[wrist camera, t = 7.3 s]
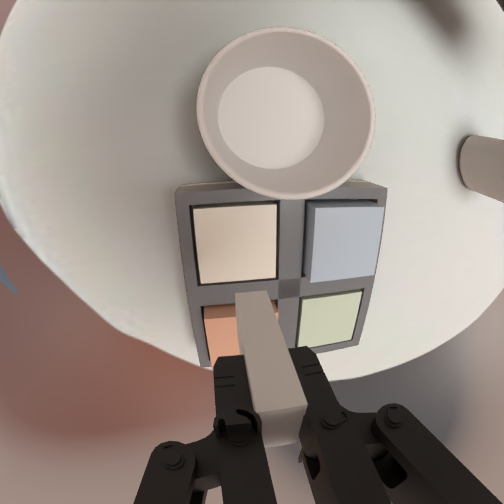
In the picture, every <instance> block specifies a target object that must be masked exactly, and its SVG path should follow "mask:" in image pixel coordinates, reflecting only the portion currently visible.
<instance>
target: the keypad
mask: <svg viewBox="0 0 504 504" xmlns="http://www.w3.org/2000/svg"><path fill="white" fill-rule="evenodd" d="M386 198H387V188H385V187H382V186H379V185H376V184H373V183H370V182H368V181H365V180H346V181H345V182H344V183H343V184H341V185H340V186H338V187H337V188H335V189H333V190H331V191H329V192H327V193H325V194H322V195H319V196H316V197H312V198H307V199H299V200H285V199H276V198H271V197H267V196H264V195H261V194H258V193H256V192H253V191H251V190H249V189H247V188H245V187H243V186H242V185H240V184H239V183H237V182H236V181H225V182H209V183H196V184H184V185H180V187H179V188H178V189H177V191H176V192H175V204H176V214H177V223H178V232H179V241H180V249H181V256H182V264H183V271H184V278H185V284H186V291H187V297H188V303H189V309H190V315H191V321H192V326H193V331H194V337H195V342H196V347H197V352H198V357H199V361H200V366H201V367H212V365H211V360H210V354H209V348H208V342H207V335H206V329H205V322H204V306H207V305H221V304H233V303H235V293H241V292H253V291H265V290H267V293H268V295H269V298H270V300H274V302H275V305H276V307H277V310H278V323H279V326H280V329H281V331H282V334H283V337H284V340H285V342H286V345H287V348H295V347H296V344H295V339H296V329H297V319H298V307H299V297H302V296H310V295H318V294H326V293H333V292H340V291H348V290H354V289H360V290H361V291H362V295H361V299H360V304H359V309H358V313H357V317H356V322H355V326H354V330H353V334H352V338H351V340H346V341H341V342H336V343H331V344H326V345H321V346H315V347H309V348H310V349H311V350H312V351H313V352H314V353H315V354H317V353H322V352H328V351H333V350H337V349H342V348H347V347H351V346H356V345H358V344H359V340H360V337H361V333H362V330H363V326H364V322H365V318H366V314H367V310H368V306H369V302H370V297H371V293H372V288H373V283H374V278H375V273H376V268H377V263H378V257H379V251H380V245H381V239H382V232H383V224H384V217H385V208H386ZM267 200H273V201H274V202H275V203H276V204H277V215H276V278H266V279H254V280H242V281H230V282H217V283H204V284H201V281H200V273H199V264H198V255H197V245H196V235H195V225H194V213H193V208H194V205H200V204H213V203H229V202H246V201H267ZM305 200H370V201H372V202H374V203H377V204H379V205H381V206H383V207H384V214H383V222H382V230H381V237H380V243H379V250H378V256H377V261H376V267H375V272H374V275H370V276H363V277H355V278H347V279H339V280H331V281H322V282H314V283H310V282H309V280H308V279H307V277H306V276H305V274H304V273H303V271H302V270H301V268H302V252H303V233H304V210H305Z"/></svg>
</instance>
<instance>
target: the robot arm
mask: <svg viewBox="0 0 504 504" xmlns="http://www.w3.org/2000/svg"><path fill="white" fill-rule="evenodd" d="M496 1H497V2H498V4H499V5H500V7H501V8H502V10H503V12H504V0H496ZM235 304H236V321H237V337H238V344H239V350H240V355H233V356H221V357H218V358H217V360H216V362H215V364H214V366H213V371H214V387H215V388H214V390H215V405H216V417H215V418H214V424H213V427H214V430H213V431H212V433H211V434H210V435H208V436H207V437H206V438H203V439H201V440H199V441H196V442H192V443H189V444H183V443H180V442H177V441H168V442H164V443H161V444H160V445H158V446H157V447H155V449H154V450H153V452H152V453H151V456H150V459H149V461H148V464H147V467H146V470H145V473H144V475H143V478H142V481H141V484H140V487H139V489H138V492H137V495H136V498H135V501H134V504H205V500H206V495H207V491H208V490H209V489H212V488H215V487H218V486H221V488H222V496H223V504H277V501H276V497H275V493H274V488H273V484H272V480H271V475H270V471H269V466H268V462H267V457H266V453H265V448H269V447H275V446H281V445H287V444H292V443H297V442H298V439H299V438H300V442H301V445H302V449H301V452H300V455H299V458H298V459H299V463H300V462H302V460H303V464H304V467H305V470H306V474H307V477H308V480H309V484H310V487H311V490H312V493H313V496H314V500H315V503H316V504H391V502H392V503H393V504H502V503H501V502H500V501H499V500H498V499H497V498H496V497H495V496H494V495H493V494H492V493H491V492H490V491H489V490H488V489H487V488H486V487H485V486H484V485H483V484H482V483H481V482H480V481H479V480H478V479H477V478H476V477H475V476H474V475H473V474H472V473H471V472H470V471H469V470H468V469H467V468H466V467H465V466H464V465H463V464H462V463H461V462H460V461H459V460H458V459H457V458H456V457H455V456H454V455H453V454H452V453H451V452H450V451H449V450H448V449H447V448H446V447H445V446H444V445H443V444H442V443H441V442H440V441H439V440H438V439H437V438H436V437H435V436H434V435H433V434H432V433H431V432H430V431H429V430H428V429H427V428H426V427H425V426H424V425H423V424H422V423H421V422H420V421H419V420H418V419H417V418H416V417H415V416H414V415H413V414H412V413H411V412H410V411H409V410H408V409H406V408H405V407H404V406H402V405H399V404H387V405H385V406H383V407H381V408H380V409H379V410H378V412H377V413H355V412H351V411H348V410H347V409H345V408H344V407H342V406H341V405H340V404H339V403H338V401H337V399H336V397H335V395H334V393H333V391H332V388H331V386H330V384H329V382H328V379H327V377H326V375H325V373H324V372H323V369H322V366H321V365H320V362H319V360H318V358H317V356H316V354H315V353H314V352H313V351H312V350H311V349H310V348H309V347H308V346H302V347H295V348H287V345H286V342H285V340H284V337H283V334H282V331H281V329H280V326H279V323H278V320H277V318H276V315H275V312H274V309H273V306H272V304H271V301H270V298H269V295H268V293H267V290H265V291H253V292H241V293H235ZM390 501H391V502H390Z"/></svg>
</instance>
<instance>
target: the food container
mask: <svg viewBox="0 0 504 504" xmlns="http://www.w3.org/2000/svg"><path fill="white" fill-rule="evenodd" d="M196 113H197V122H198V126H199V131H200V134H201V137H202V139H203V142H204V144H205V146H206V148H207V150H208V152H209V153H210V155H211V157H212V158H213V159H214V161H215V162H216V163H217V165H218V166H219V167H220V168H221V169H222V170H223V171H224V172H225V173H226V174H227V175H228V176H229V177H231V178H232V179H233V180H234V181H236V182H237V183H239V184H240V185H242V186H243V187H245V188H247V189H249V190H251V191H253V192H256V193H258V194H261V195H264V196H267V197H271V198H276V199H285V200H299V199H307V198H312V197H316V196H319V195H322V194H325V193H327V192H329V191H331V190H333V189H335V188H337V187H338V186H340V185H341V184H343V183H344V182H345V181H346V180H348V179H349V178H350V177H351V176H352V175H353V174H354V173H355V172H356V170H357V169H358V168H359V167H360V165H361V164H362V162H363V161H364V159H365V157H366V155H367V153H368V151H369V149H370V146H371V143H372V140H373V135H374V129H375V108H374V102H373V97H372V94H371V91H370V88H369V85H368V83H367V81H366V79H365V77H364V75H363V74H362V72H361V70H360V69H359V67H358V66H357V65H356V63H355V62H354V61H353V60H352V59H351V57H350V56H349V55H348V54H346V53H345V52H344V51H343V50H342V49H341V48H340V47H338V46H337V45H336V44H334V43H333V42H331V41H329V40H328V39H326V38H324V37H322V36H320V35H317V34H315V33H312V32H309V31H306V30H302V29H298V28H291V27H271V28H263V29H259V30H255V31H252V32H249V33H246V34H244V35H242V36H240V37H238V38H236V39H235V40H233V41H231V42H230V43H229V44H227V45H226V46H225V47H224V48H222V49H221V50H220V51H219V52H218V53H217V54H216V56H215V57H214V58H213V59H212V61H211V62H210V64H209V65H208V67H207V68H206V70H205V72H204V74H203V76H202V79H201V82H200V85H199V89H198V93H197V102H196Z"/></svg>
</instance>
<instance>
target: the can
mask: <svg viewBox="0 0 504 504" xmlns="http://www.w3.org/2000/svg"><path fill="white" fill-rule="evenodd" d="M459 168H460V172H461V175H462V178H463V180H464V183H465V185H466V186H467V187H468V188H469V189H470V190H472V191H475V192H478V193H480V194H483V195H486V196H488V197H491V198H493V199H496V200H498V201H501V202H503V203H504V140H501V139H495V138H490V137H484V136H478V135H471V136H470V137H468V138H467V140H466V141H465V143H464V144H463V146H462V148H461V151H460V157H459Z"/></svg>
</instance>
